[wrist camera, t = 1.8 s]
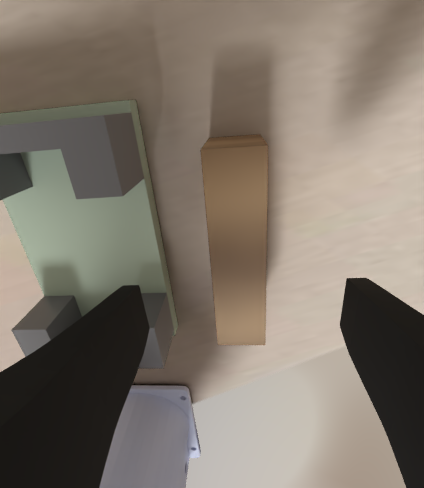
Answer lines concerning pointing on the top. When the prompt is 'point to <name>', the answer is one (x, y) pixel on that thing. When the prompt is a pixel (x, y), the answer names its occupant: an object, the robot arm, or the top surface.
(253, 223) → the slat
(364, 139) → the top surface
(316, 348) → the top surface
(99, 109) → the base board
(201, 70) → the top surface
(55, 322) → the end caps
